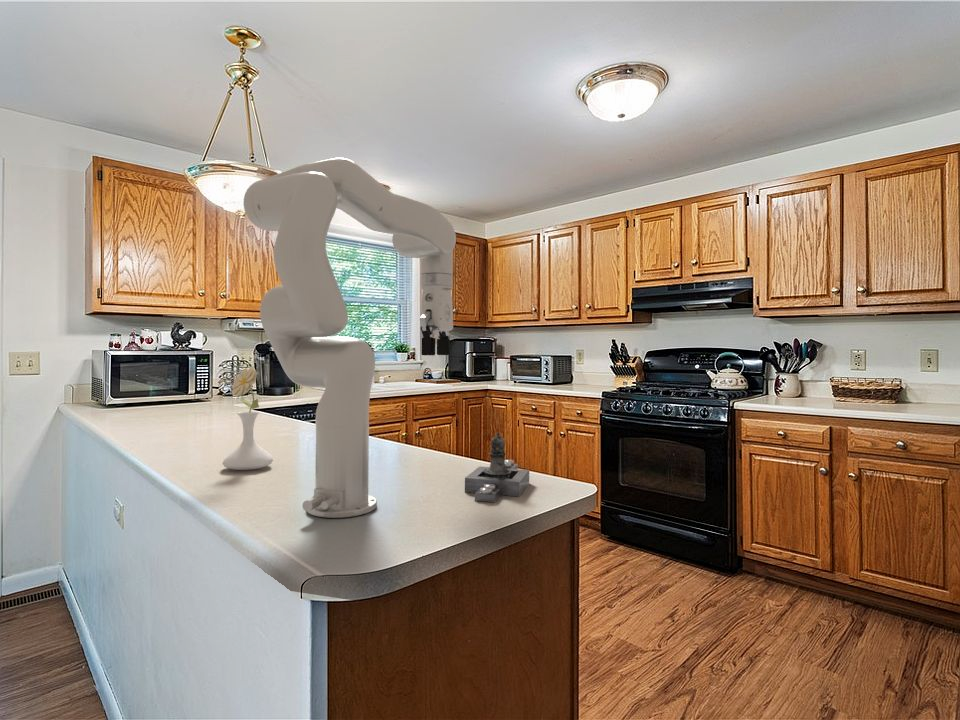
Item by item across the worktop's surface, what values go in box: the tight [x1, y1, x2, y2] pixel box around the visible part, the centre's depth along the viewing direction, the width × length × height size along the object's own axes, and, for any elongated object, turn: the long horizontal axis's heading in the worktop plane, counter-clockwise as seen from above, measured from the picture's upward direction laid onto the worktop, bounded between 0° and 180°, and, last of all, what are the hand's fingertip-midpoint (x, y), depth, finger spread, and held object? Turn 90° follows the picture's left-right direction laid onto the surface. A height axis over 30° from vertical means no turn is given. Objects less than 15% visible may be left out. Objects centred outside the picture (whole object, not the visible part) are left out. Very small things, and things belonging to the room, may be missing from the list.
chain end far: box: [464, 459, 530, 489], centre depth 118 cm, size 17×12×4 cm, turn 165°
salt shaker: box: [484, 432, 511, 479], centre depth 115 cm, size 6×6×12 cm
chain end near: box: [464, 476, 530, 503], centre depth 112 cm, size 17×12×2 cm, turn 165°
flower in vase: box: [222, 366, 274, 471], centre depth 130 cm, size 13×11×25 cm
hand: (436, 355), depth 127 cm, fingers open, 9 cm apart
